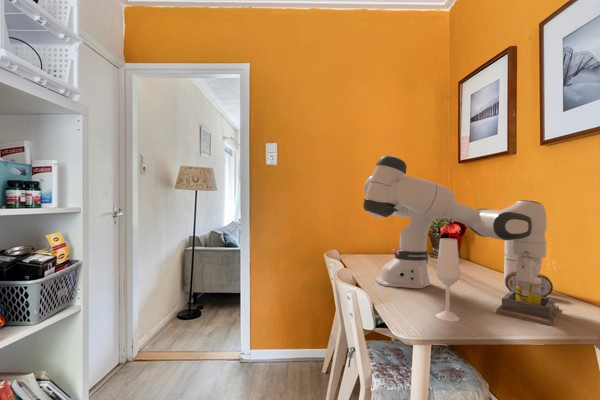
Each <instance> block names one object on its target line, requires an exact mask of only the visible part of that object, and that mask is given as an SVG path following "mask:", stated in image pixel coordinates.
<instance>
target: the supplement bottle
mask: <svg viewBox="0 0 600 400" xmlns="http://www.w3.org/2000/svg"><path fill="white" fill-rule="evenodd" d="M534 274H535V278H534V280H533V281H532V282H531V283H530V285H529V296H523V295H522V288H521V283H518V282H517V281H516V301H522V302H527V303H532V304H537V305H541V279H540V278H538V277H537V274H538V270H537V269H536V270H535V271H534Z"/></svg>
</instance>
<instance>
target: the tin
mask: <svg viewBox="0 0 600 400" xmlns="http://www.w3.org/2000/svg"><path fill="white" fill-rule="evenodd" d="M537 277H538V278H540V279H541V297H547V296H549V295H551V293H552V292H553V290H554V286H553V283H552V281H551V279H550V278H549V277H547V276H546V275H544V274H541V273H539V275H538V276H537ZM504 285H505V287H506V288H507V290H509V292H510V291H513V292H516V272H512V273H509V274H508V275H507V276H506V278H505V284H504Z"/></svg>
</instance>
